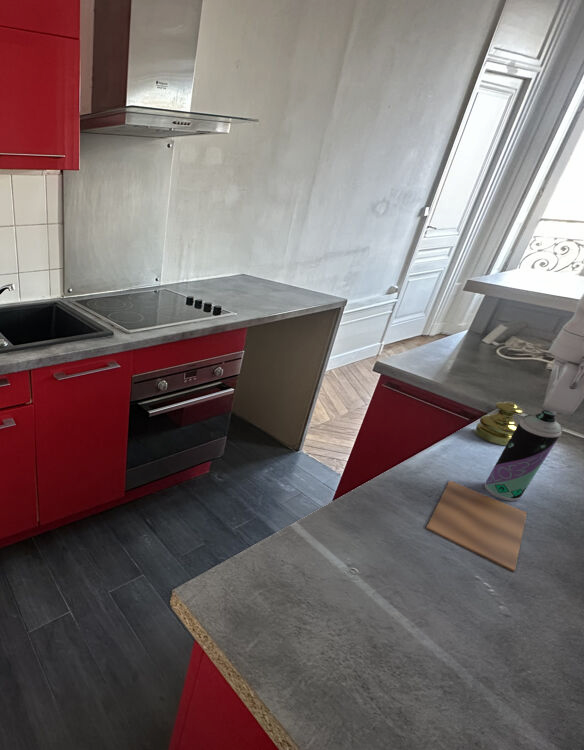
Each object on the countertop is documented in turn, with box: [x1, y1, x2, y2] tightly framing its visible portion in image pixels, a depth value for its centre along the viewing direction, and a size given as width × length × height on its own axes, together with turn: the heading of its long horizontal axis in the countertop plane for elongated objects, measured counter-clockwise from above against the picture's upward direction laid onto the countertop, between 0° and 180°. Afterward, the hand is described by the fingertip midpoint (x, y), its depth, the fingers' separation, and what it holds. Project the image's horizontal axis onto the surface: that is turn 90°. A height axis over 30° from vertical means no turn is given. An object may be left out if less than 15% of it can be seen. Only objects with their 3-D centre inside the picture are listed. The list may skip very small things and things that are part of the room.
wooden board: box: [425, 480, 528, 573], centre depth 78 cm, size 20×12×1 cm, turn 131°
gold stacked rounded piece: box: [473, 401, 525, 446], centre depth 101 cm, size 7×7×10 cm
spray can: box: [484, 410, 564, 502], centre depth 80 cm, size 6×6×20 cm
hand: (544, 416), depth 79 cm, fingers closed
